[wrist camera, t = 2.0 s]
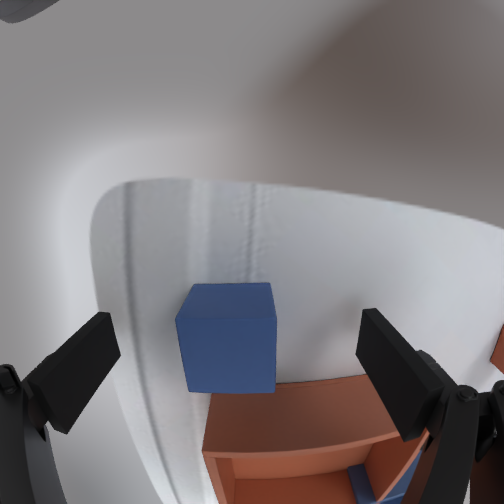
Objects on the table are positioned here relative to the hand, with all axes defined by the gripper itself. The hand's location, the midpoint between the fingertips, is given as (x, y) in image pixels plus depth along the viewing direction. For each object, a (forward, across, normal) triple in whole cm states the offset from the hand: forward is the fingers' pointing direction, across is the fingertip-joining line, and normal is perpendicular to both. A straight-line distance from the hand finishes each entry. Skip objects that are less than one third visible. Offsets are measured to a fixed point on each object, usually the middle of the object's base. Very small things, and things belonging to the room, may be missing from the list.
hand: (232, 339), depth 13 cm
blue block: (+2, 0, 0) cm, 2 cm away
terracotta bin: (+2, +5, -11) cm, 12 cm away
